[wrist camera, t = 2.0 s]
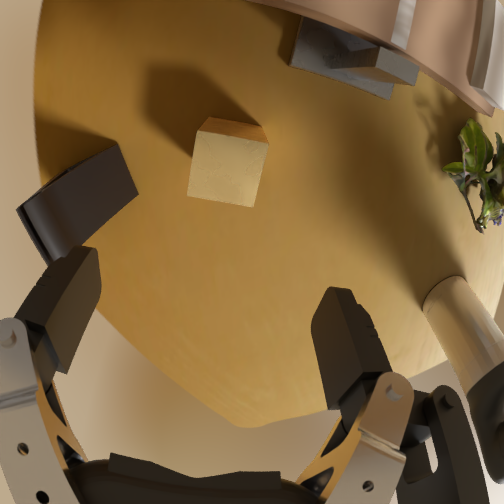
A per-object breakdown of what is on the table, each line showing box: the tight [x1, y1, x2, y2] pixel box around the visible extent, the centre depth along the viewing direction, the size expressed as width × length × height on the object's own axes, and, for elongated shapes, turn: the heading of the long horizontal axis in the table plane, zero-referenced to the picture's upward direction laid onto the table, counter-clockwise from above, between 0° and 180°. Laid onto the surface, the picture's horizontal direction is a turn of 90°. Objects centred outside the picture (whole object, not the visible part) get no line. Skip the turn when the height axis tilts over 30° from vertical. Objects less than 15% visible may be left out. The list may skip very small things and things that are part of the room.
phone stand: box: [16, 144, 139, 266], centre depth 23 cm, size 9×6×12 cm, turn 104°
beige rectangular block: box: [187, 117, 269, 207], centre depth 23 cm, size 5×5×8 cm
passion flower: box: [442, 118, 504, 234], centre depth 24 cm, size 11×11×12 cm
